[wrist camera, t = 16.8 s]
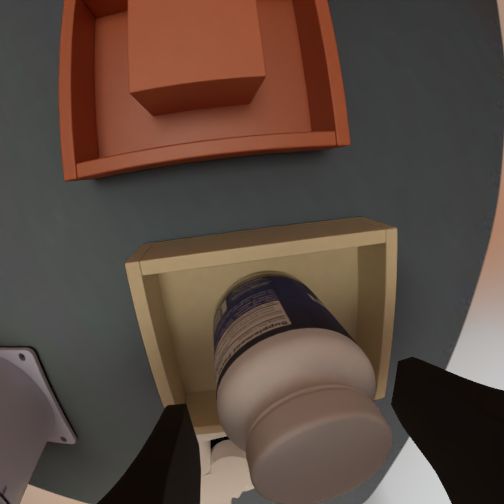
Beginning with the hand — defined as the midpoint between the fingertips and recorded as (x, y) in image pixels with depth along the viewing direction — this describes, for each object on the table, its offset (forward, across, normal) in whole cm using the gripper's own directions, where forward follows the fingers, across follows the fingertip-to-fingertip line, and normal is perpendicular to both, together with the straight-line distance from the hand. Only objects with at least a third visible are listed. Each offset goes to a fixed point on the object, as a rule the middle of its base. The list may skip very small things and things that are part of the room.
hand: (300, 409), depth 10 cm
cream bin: (+8, 0, 0) cm, 8 cm away
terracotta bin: (+8, +2, -13) cm, 15 cm away
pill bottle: (+7, 0, 0) cm, 7 cm away
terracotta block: (+7, +2, -13) cm, 15 cm away
